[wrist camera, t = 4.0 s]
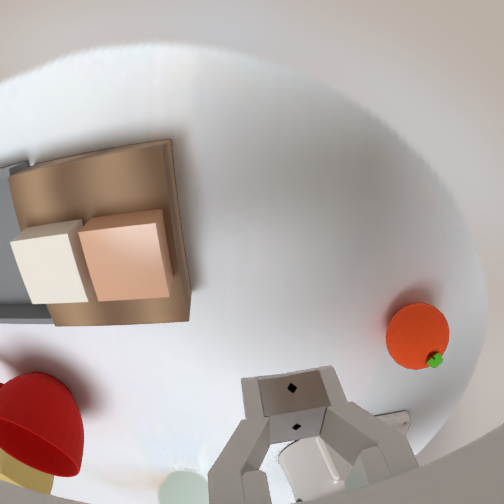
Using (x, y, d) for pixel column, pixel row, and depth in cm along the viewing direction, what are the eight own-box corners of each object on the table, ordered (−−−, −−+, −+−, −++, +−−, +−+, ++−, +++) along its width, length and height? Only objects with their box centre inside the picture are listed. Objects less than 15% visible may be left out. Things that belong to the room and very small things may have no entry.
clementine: (439, 314, 33) (471, 352, 26) (396, 352, 34) (422, 394, 28) (413, 278, 30) (450, 319, 23) (364, 323, 31) (392, 370, 25)
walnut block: (171, 139, 22) (162, 146, 18) (191, 292, 27) (188, 321, 24) (33, 165, 21) (7, 177, 17) (70, 300, 26) (55, 326, 23)
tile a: (81, 219, 19) (67, 233, 17) (98, 282, 22) (88, 301, 19) (26, 227, 19) (9, 241, 17) (45, 286, 21) (32, 304, 19)
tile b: (161, 209, 20) (155, 223, 18) (173, 276, 22) (169, 297, 20) (91, 217, 19) (78, 232, 17) (108, 282, 22) (98, 301, 19)
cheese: (36, 464, 43) (27, 501, 34) (-4, 435, 38) (-18, 473, 29) (59, 460, 41) (49, 502, 33) (14, 429, 37) (-1, 473, 28)
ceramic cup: (-14, 318, 26) (-53, 376, 18) (106, 387, 32) (89, 458, 23) (-15, 375, 30) (-40, 425, 22) (84, 429, 36) (71, 485, 27)
